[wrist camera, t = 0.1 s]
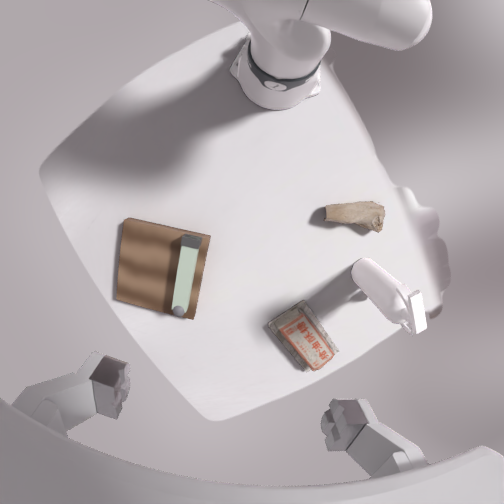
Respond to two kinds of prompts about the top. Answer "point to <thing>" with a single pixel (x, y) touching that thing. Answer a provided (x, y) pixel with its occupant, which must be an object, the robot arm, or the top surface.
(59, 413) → the robot arm
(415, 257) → the top surface
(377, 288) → the fire extinguisher
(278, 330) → the packaged product
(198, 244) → the hinged leg
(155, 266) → the stool seat
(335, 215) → the bone fragment
